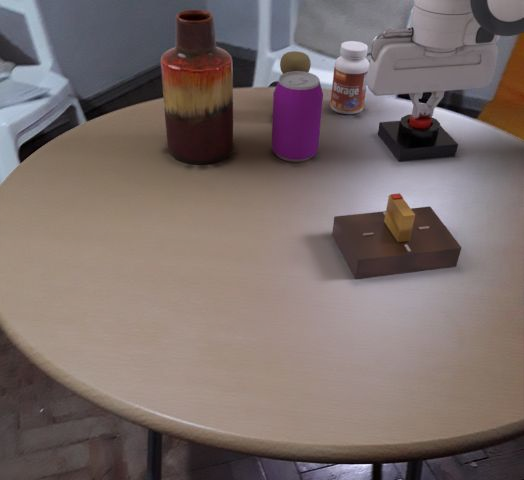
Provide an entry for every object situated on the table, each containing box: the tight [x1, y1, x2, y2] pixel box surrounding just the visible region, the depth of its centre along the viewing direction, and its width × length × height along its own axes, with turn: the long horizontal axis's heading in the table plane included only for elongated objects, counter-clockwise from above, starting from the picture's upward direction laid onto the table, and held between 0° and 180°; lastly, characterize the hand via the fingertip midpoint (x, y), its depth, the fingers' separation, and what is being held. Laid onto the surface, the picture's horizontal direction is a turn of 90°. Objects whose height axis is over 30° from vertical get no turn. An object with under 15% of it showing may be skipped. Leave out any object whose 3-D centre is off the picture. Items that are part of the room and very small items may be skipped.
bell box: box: [377, 113, 459, 163], centre depth 105 cm, size 10×10×4 cm
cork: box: [279, 50, 312, 74], centre depth 109 cm, size 6×6×11 cm
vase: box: [160, 9, 234, 165], centre depth 97 cm, size 11×11×20 cm
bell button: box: [409, 115, 433, 128], centre depth 104 cm, size 4×4×2 cm
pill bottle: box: [329, 40, 370, 115], centre depth 113 cm, size 6×6×11 cm
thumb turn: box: [384, 192, 415, 242], centre depth 81 cm, size 5×2×4 cm, turn 13°
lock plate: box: [331, 206, 462, 280], centre depth 84 cm, size 14×10×3 cm
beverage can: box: [271, 71, 324, 163], centre depth 100 cm, size 8×8×12 cm
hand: (421, 116), depth 103 cm, fingers closed, pressing on bell button
